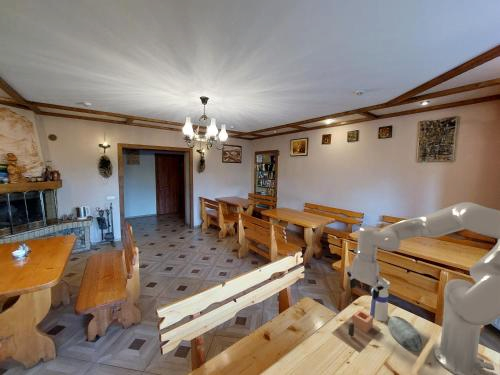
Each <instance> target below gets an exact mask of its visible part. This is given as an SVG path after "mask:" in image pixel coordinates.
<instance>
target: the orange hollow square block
mask: <svg viewBox="0 0 500 375" xmlns="http://www.w3.org/2000/svg"><path fill="white" fill-rule="evenodd" d="M352 316H353V322H352V323H353V324H354V326H355V327H356V328H358V329H360V330H361V331H363V332H365V333H367V332H368V331H369V330H370V329H371V328H372V326H373V325H374V324H373V323H374V318H373V316H371V315H370V314H369V313H367V312H366V311H364V310H361V309H358V310H357V311H356V312H354V313H353V314H352Z"/></svg>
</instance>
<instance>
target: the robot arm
mask: <svg viewBox="0 0 500 375" xmlns="http://www.w3.org/2000/svg"><path fill="white" fill-rule="evenodd" d="M463 230H468V231H470V232H473V233H476V234H479V235H483V236H487V237H491V238H494V239H498V240H497V243H496V244H495V245H494V246H493V247H492V248H491V249H490V250H489V251H488V252H487V253H486V254H484V256H482V257H481V258H480V259H479V260H478V261H477V262H475V263H474V264H473V265H472V266H471V267H470V269H469V275H470V277H471V279H472V280H473V282H474V283H475V284H473V283H472V282H469V281H467V280H465V279H460V278H457V279H456V278H454V279H451V280H449V281H448V282H446V284H445V286H444V289H443V299H444V300H443V317H442V326H441V337H440V346H438V347H436V348H435V349H434V351H433V352H434V358H435V359H436V361H437V362H438V363H439V364H440V365H441V366H442V367H444V368H445V369H446V370H448V371H449V372H450V373H451V374H454V375H483V373H482V370H483V369H487V370H490V371H495V366H494V365H493V363H491V362H487V361H486V362H485V361H484V358H483V357H481V356H478V351H479V345H480V344H479V343H480V335H481V330H482V329H481V328H482V326H486V325H489V324H492V323H494V322H496V321H497V320H498V319H499V318H500V210H498V209H494V208H490V207H488V206H487V207H486V206H483V205H480V204H477V203H474V202H469V201H466V202H465V201H464V202H460V203H456V204H453V205H451V206H447V207H445V208H442V209H439V210H436V211H433V212H431V213H427V214H425V215H422V216H416V217H413V218H408V219H405V220H401V221H399V222H395V223H392V224H389V225H387V226H384V227H382V228H381V229H380V230H377V228H374V227H370V226H361V227H359V228H358V233H357V236H358V237H357V238H358V239H357V247H356V248H357V249H356V248H355V249H354V250H353V252H354V253H355V254H356V255H354V258H353V260H352V265H351V266H346V267H345V271H346V274H347V276H348V279H349V286H350V289H354V288H355V287H356V283H357V281H359V282H361V283H363V284H366V285H369V286H371V287H372V288H373V287H374V289H375V290H374V291H373V299H374V300H375V299H376V298H378V297H379V290H382V289H384V288H385V287H386V286H387V282H385V281H384V280H383V279H382V278H383V277H382V276H380V271H379V266H380V265H379V261H378V260H377V258H378V257H377V256H378V249H381V250H385V251H386V252H387V251H388V252H395V251H398V250H400V248H401V245H402V241H403V240H407V239H411V238H417V237H424V238H440V237H443V236H447V235H449V234H452V233H455V232H459V231H463ZM381 277H382V278H381ZM378 282H381V283H382V285H381V286H379V284H378Z"/></svg>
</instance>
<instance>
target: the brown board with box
mask: <svg viewBox="0 0 500 375" xmlns="http://www.w3.org/2000/svg"><path fill="white" fill-rule="evenodd" d="M352 322H353V315H352V316H351V317H349V318H348V319H347V320H346V321H344V322H343V323H342V324H341V325H340V326H338V327H337V328H336V329H334V330H333V331H332V332H331V334H332V335H333V336H335V337H336V338H337V339H339V340H341V341H342V343H345V344H346V345H348V346H349V347H350V348H352V349H353V350H354V351H356V352H358V353H359V354H360V353H361V352H362V351H363V350H364V349H365V347H367V346H368V345H369V344H370V343H371V341H372V340H374V339H375V337H376V336H377V335H378V334H379V333H380V332H381V331H382V328H380V327H378V326H376V325H375V324H373V326H372V328H371V329H370V330H369V331H368V332H367V333H365V332H363V331H361V330H360V329H358V328H356V327H355V326H354V324H353V323H352Z"/></svg>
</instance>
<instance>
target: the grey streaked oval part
mask: <svg viewBox="0 0 500 375" xmlns="http://www.w3.org/2000/svg"><path fill="white" fill-rule="evenodd" d="M387 321H388V322H387V327H388V331H389V333H390V335H391V337H392V338H393V340H395V341H396V342H397V343H398V344H399V345H401V346H402V347H404V348H406V349H408V350H409V351H413V352H420V351H421V349H422V346H423V341H422V338H421V335H420V332H419V331H418V329H416V328H415V326H414V325H413V324H411V323H410V322H409V321H407V320H406V319H405V318H403V317H400V316H396V315H392V316H389V319H388V320H387Z"/></svg>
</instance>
